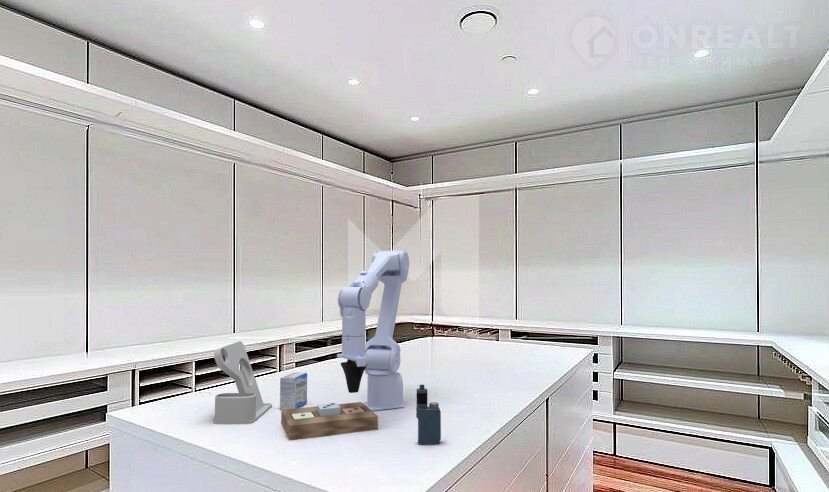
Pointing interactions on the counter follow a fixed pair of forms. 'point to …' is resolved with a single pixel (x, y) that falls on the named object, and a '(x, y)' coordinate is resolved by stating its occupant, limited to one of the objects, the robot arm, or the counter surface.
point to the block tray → (328, 422)
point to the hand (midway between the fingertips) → (353, 392)
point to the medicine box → (293, 390)
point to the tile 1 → (302, 415)
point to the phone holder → (248, 400)
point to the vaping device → (427, 419)
